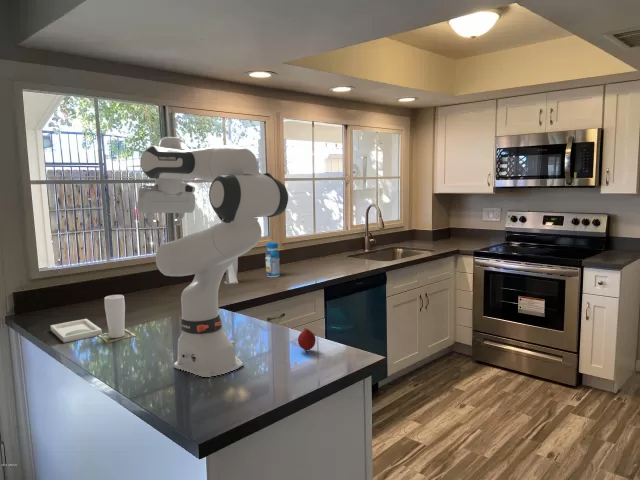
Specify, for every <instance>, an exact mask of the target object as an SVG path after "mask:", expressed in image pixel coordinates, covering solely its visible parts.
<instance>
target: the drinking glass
mask: <svg viewBox="0 0 640 480" xmlns="http://www.w3.org/2000/svg"><path fill="white" fill-rule="evenodd" d="M103 299H104V300H103V301H104V311H105V316H106V322H107V329H108V333H109V335H108V337H109V338H110V339H119V338H123V337H124V336H125V333H126V331H125V329H126V328H125V324H126V321H125V320H126V319H125V317H126V316H125V315H126V314H125V313H126V303H125V296H124V295H123V294H112V295H111V294H110V295H107V296H105V297H103Z"/></svg>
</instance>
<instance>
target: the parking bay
mask: <svg viewBox="0 0 640 480" xmlns="http://www.w3.org/2000/svg"><path fill="white" fill-rule="evenodd" d="M125 333H127V334H129V336H125V337H124V336H123V337H120V338H114V339H111V340H108V339H106V338H105V337H104V336H109V332H107V333H102V335H98V337H99V339H101V340H102V341H104V342H105V343H107V344H108V343H113V342H118V341H121V340H125V339H130V338H135V337H137V335H136V334H134V333H133V332H132V331H130V330H128V329H126V328H125Z"/></svg>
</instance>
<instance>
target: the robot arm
mask: <svg viewBox="0 0 640 480" xmlns="http://www.w3.org/2000/svg"><path fill="white" fill-rule="evenodd" d="M139 164H140V168H141V171H143V173H144V174H145V175H146V176H147V177H148V178H149V179H151V180H153V179H155V180H154V184H143V185H141V186H140V187H139V189H138V197H137V204H136V210H137V211H138V212H140V213H143V214H146V216H147V218H148V220H149V221H148V222H149V223H148V225H149V226H151V227H155V226H156V225H157V220H155V219H154V216H155V214H160V213H161V214H172V213H173V214H174V213H175V214H177V215H178V216H177V218H176V219H174V226H180V225H181V224H182V220H183V219H184V217H185V214H186V213H187V214H189V213H190V214H191V213H193V212H194V211H195V208H196V195H195V194H194V193H195V192H196V188H195V186H193V185H190V184H188V183H186V182H185V181H191V180H195V179H198V180H199V179H200V180H203V181H206V182H210V183H211V185H210V187H209V189H208V190H209V191H208V197H209V198H208V199H209V204H210V206H211V208H212V209H213V212H214V213H215V214H216V215H217V218H218V219H219V220H220V221H219V222H218V223H215V224H214V225H211V226H210V227H208V228H207V229H204V230H201V231H197V232H194V233H191V234H188V235H185V236H183V237H181V238H178V239H175V240H172V241H169V242H168V241H167V242H166V243H162V244H161V245H160V246H159V247H158V248H157V251H156V253H155V264H156V267H157V268H158V270H159V272H160V273H161V274H163V276H167V277H184V276H185V277H186V276H192V275H194V277H193V279H192V281H191V283H189V285H187V286H186V287H185V288H184V289H183V291H182V292H181V295H180V300H181V301H180V302H181V317H180V330H181V334H180V336H179V337H178V339H177V360H176V361H175V362H174V363H173V368H175V369H177V370H180V369H181V371H183V370H184V371H183V372H185V371H187V372H186V373H188V372H190V373H189V374H191V373H193V374H196V375H199V376H202V377H205V376H206V377H208V376H214V375H218V374H222V373H225V372H228V371H231V370H233V369H236V368H238V367H240V366H241V365H242V364H243V365H244V362H243V361H242V360H241V359H240V358H239V357H237V355H236V353H235V347H236V344H235V341H234V340H230V339H229V337H228V335H227V334H226V333H225V331H224V329H223V320H222V318H221V317H220V314H219V291H220V290H219V289H220V285H221V281H222V279H223V276H224V275H225V274H226V270H227V269H228V268H229V266H230V265H231V264H232V263H233V262H234V260H235V258H237V257H238V258H239V257H241V256H243V255H245V254H247V253H248V252H249V251H250V250H252V249H253V248H254V247H255V246H257V245H258V243H259V242H260V241H261V238H262V234H263V233H262V226H261V224H260V222H259V218H264V217H267V218H273V217H277V216H279V215H281V214H283V213H284V212H285V211H286V209H287V207H288V203H289V194H288V190H287V188H286V186H285V184H284V183H283V182H281V181H280V180H278V179H277V178H275V177H273V176H272V174H270V173H269V172H265V173H262V172H260V171H259V169H258V168H259V167H258V164H259V163H258V160H257V157H256V155H255V154H254V153H253V152H252V151H251V150H250V149H248V148H245V147H243V146H238V145H230V144H224V145H217V146H210V147H205V148H203V147H202V148H198V149H197V148H196V149H189V148H188V147H187V145H186V141H185V139H182V138H181V137H176V136H165V137H162V138H161V139H160V141H159V145H158V146H157V145H150V146H148V147H147V148H146V149H145V150H144V151H143V152H142V154H141V156H140V163H139ZM193 374H192V375H193ZM196 375H195V376H196ZM199 376H198V377H199Z"/></svg>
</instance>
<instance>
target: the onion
mask: <svg viewBox="0 0 640 480" xmlns="http://www.w3.org/2000/svg"><path fill="white" fill-rule="evenodd" d="M297 342H298V345H299V347H300V348H301V349H303V351H305V350H309V351H310V350H312V349H313V348H314V347H315V345H316V343H317V342H316V335H315V333H313V332H312V330H310V329H309V328H308V327H304V330H303V331H301V332H300V334H299V335H298V337H297Z"/></svg>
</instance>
